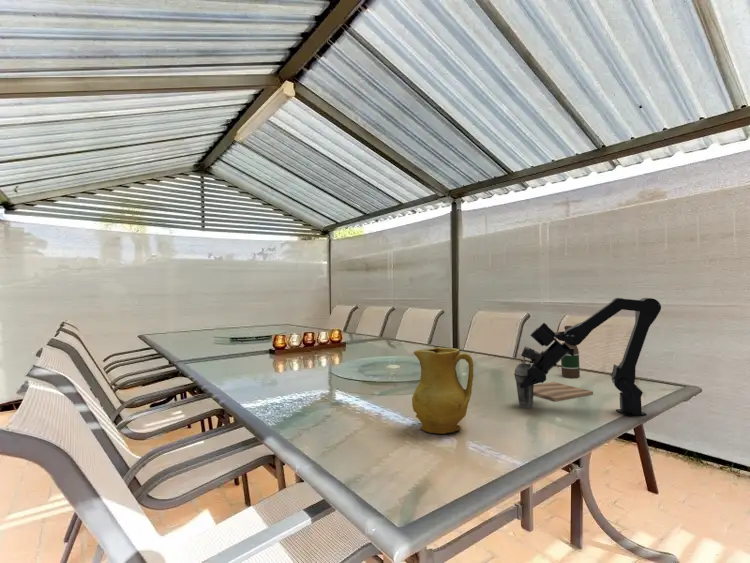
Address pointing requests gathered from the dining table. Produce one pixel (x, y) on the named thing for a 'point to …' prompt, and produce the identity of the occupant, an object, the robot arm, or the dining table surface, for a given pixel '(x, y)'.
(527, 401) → the beverage cup
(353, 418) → the dining table surface
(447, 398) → the pitcher
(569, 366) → the beer bottle
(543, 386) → the walnut board
